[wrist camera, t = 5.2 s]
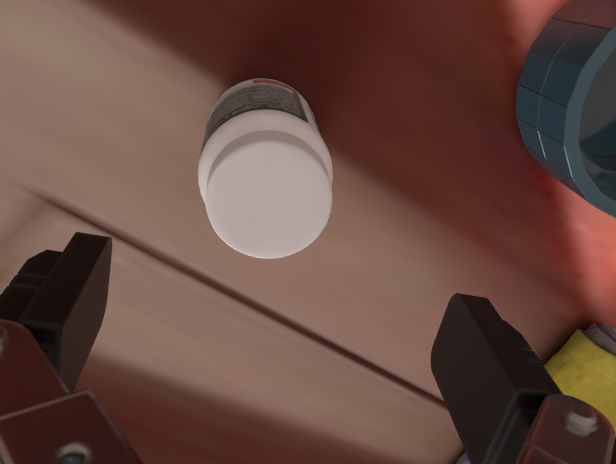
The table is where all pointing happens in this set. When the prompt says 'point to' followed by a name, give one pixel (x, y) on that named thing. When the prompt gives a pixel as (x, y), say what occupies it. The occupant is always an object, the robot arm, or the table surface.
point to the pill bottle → (265, 170)
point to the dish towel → (586, 370)
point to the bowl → (574, 100)
